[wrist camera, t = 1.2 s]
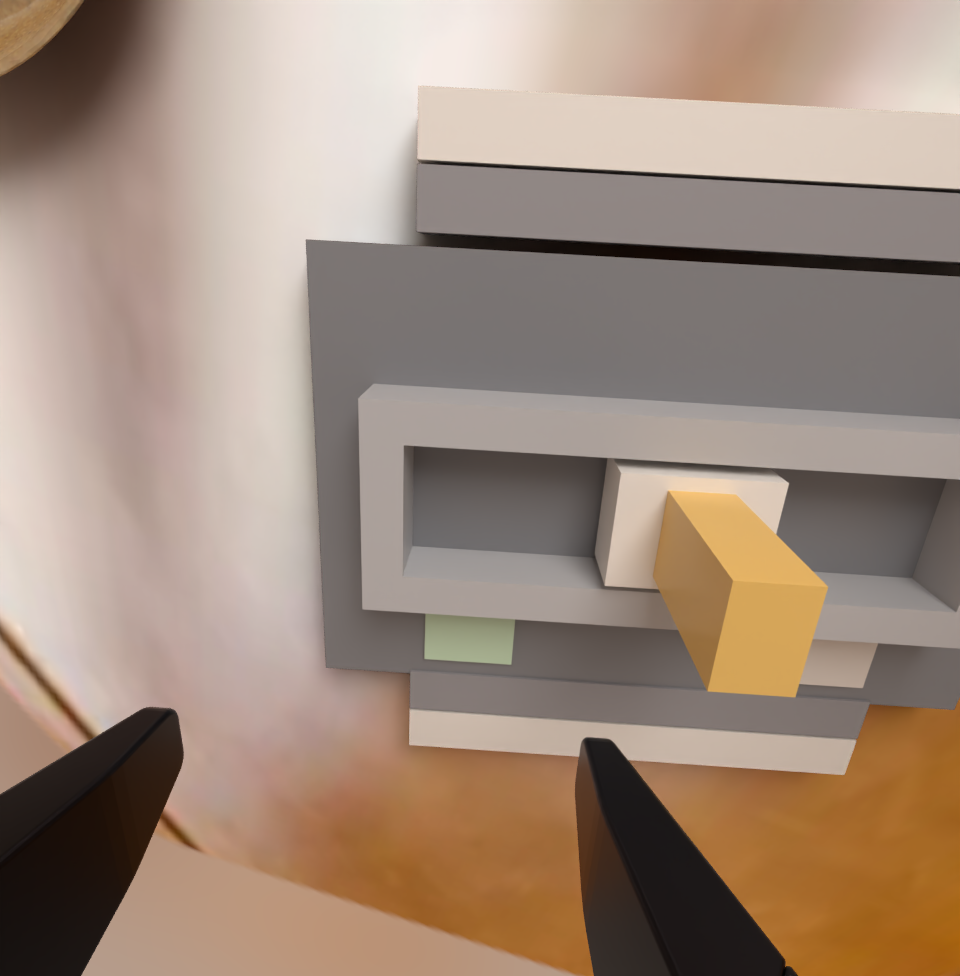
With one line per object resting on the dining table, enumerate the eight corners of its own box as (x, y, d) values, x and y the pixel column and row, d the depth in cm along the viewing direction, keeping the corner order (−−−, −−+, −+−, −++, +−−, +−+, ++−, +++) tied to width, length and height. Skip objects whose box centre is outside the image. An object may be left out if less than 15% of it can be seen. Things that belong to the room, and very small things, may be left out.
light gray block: (845, 672, 22) (870, 702, 21) (822, 742, 23) (844, 774, 22) (416, 644, 22) (410, 671, 21) (415, 714, 24) (408, 744, 22)
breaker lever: (758, 459, 18) (903, 572, 11) (734, 562, 19) (853, 717, 12) (608, 450, 18) (667, 557, 11) (594, 553, 19) (640, 702, 12)
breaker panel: (1080, 284, 17) (1216, 289, 14) (925, 681, 22) (998, 754, 19) (321, 241, 18) (279, 236, 14) (337, 642, 23) (308, 707, 19)
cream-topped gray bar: (1023, 133, 16) (1077, 120, 14) (980, 265, 17) (1025, 265, 16) (426, 102, 16) (418, 85, 15) (423, 233, 17) (416, 231, 16)
